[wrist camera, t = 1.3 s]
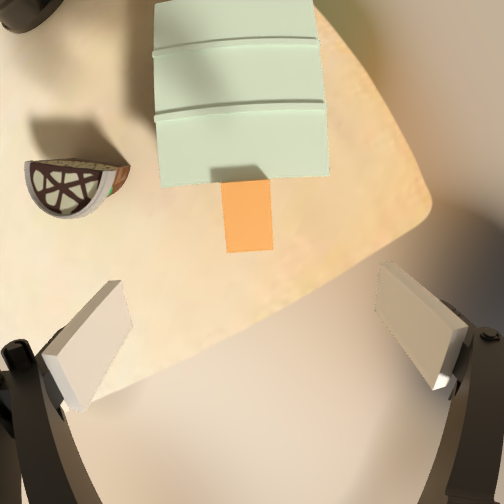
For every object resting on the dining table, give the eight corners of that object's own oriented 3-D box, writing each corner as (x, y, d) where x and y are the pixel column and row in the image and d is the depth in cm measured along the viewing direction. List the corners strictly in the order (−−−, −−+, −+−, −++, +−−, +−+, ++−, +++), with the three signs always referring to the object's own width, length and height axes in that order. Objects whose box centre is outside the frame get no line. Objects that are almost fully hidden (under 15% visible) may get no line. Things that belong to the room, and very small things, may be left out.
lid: (158, 10, 21) (150, -3, 18) (308, -1, 21) (314, -15, 18) (173, 247, 29) (165, 257, 26) (326, 236, 29) (334, 245, 26)
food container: (60, 199, 36) (18, 213, 26) (65, 157, 34) (21, 161, 25) (134, 213, 37) (101, 232, 28) (140, 167, 35) (107, 171, 26)
